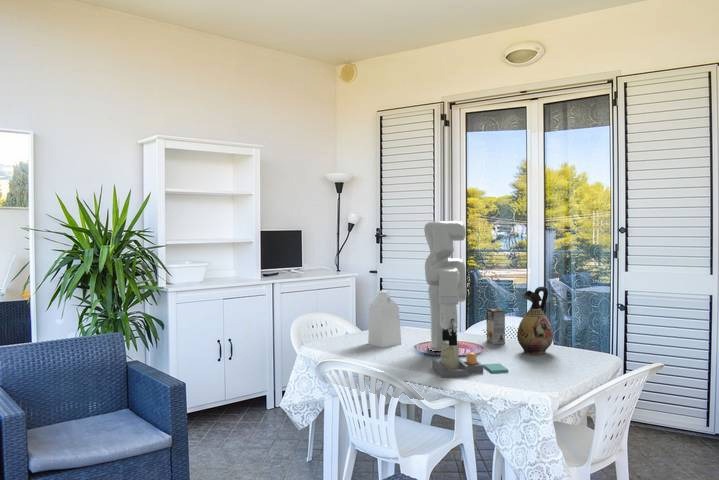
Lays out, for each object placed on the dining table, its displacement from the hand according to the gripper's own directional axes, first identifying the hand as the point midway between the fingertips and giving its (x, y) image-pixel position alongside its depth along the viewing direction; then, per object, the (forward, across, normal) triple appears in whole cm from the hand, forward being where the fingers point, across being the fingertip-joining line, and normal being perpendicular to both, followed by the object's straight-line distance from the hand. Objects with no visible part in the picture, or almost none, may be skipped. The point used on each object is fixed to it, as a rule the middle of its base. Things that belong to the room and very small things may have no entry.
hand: (449, 342), depth 232 cm
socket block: (+12, -1, +4) cm, 12 cm away
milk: (+11, -57, -17) cm, 60 cm away
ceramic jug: (+11, -24, +47) cm, 54 cm away
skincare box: (+12, -1, 0) cm, 12 cm away
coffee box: (+11, -49, +37) cm, 62 cm away
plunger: (+11, -1, +9) cm, 14 cm away
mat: (+12, -1, +19) cm, 22 cm away
